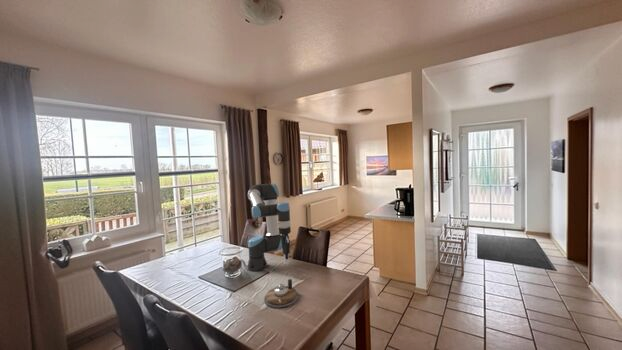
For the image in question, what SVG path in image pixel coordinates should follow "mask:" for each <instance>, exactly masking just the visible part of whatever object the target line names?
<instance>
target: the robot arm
mask: <svg viewBox="0 0 622 350" xmlns="http://www.w3.org/2000/svg"><path fill="white" fill-rule="evenodd" d="M279 191H280V190H279V188H278V186H277V183H270V182H269V183H260V184H254V185H253V186H251V187H250V188H249V190H248V191H247V198H248V200H249V201H250V203H251V205H252V207H251V216H252V218H253V219H257V218H258V219H260V218H265V219H266V223H265V224H266V233H265V236H262V235H258V236H256V235H255V236H253V237H251V238H250V239H248V241H247V242H248V245H247V247H248V262H247V270H248V271H250V272H259V271H262V270H265V269H266V268H267V267H268V262H267V260H266V257H265V254H266V253H272V252H277V251H281V250H282V255H283V263H284V265H288V264H290V260H289V254H290V253H291V252H290V250H291V249H290V244H291V240H290V236H289V234H291V232H292V231H291V214H290V203H289V202H288V201H283V202H282V201H281V202H277V201H278V198H279V197H280V192H279Z"/></svg>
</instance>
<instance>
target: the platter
mask: <svg viewBox="0 0 622 350" xmlns="http://www.w3.org/2000/svg"><path fill="white" fill-rule="evenodd" d="M286 286H287V287H288V294H287V295H286V296H284V297H276V296H275V293H274V289H275V287H273V288H271V289H270V290H268V291H267V292H266V293H265V296H266V300H267V302H268V303H270V304H273V305H283V304H287V303H290V302H292V301H293V300H294V299H295V298H296V296H297V294H296V292H297V290H296V288H294V287H293V280H292V278H289V279H288V280H287V285H286Z"/></svg>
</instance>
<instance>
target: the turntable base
mask: <svg viewBox="0 0 622 350" xmlns="http://www.w3.org/2000/svg"><path fill="white" fill-rule="evenodd" d="M296 294H297V296H296V298H295V299H294V300H293V301H292V302H290V303H287V304H283V305H273V304H270V303H268V302H267V300H266V295H265V296H264V298H263V300H264V304H265V305H266V306H267V307H269V308H272V309H283V308H289V307H291V306H293V305H294V304H296V303H297V302H298V300H299V294H298V292H297V291H296Z"/></svg>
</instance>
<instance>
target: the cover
mask: <svg viewBox="0 0 622 350" xmlns="http://www.w3.org/2000/svg"><path fill="white" fill-rule="evenodd" d="M287 286H288V285H286V284H285V285H284V284H282V283H280V284H278V285H276V286H275V287H274V288H275V289H274V293H275V296H276V297H284V296H286V295H287V294H288V287H287Z"/></svg>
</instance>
